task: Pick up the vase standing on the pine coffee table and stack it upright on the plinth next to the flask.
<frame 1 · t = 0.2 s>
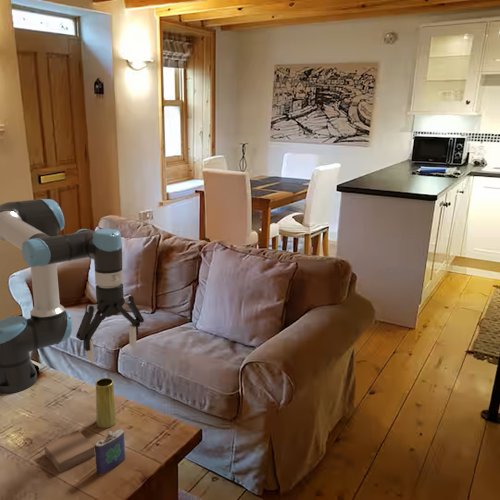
hand: (112, 352, 139), 26 cm above the table, fingers open, 13 cm apart
vase: (106, 422, 150), on the table
plinth: (69, 454, 135), on the table
flask: (111, 466, 131), on the table
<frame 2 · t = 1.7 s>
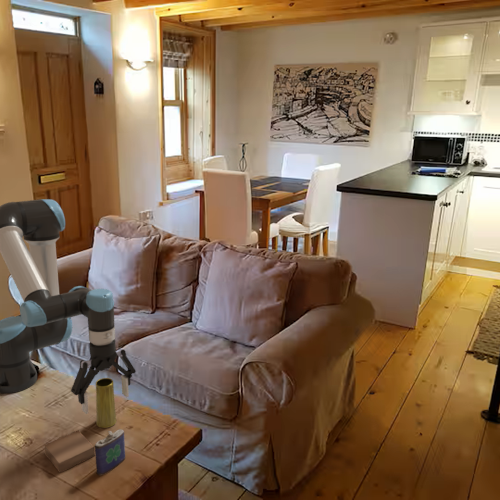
hand: (106, 403, 148), 7 cm above the table, fingers open, 13 cm apart
nothing on the table moved.
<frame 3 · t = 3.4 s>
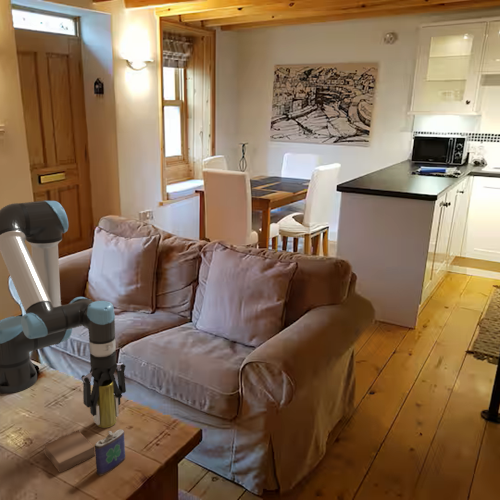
hand: (106, 418, 149), 1 cm above the table, fingers closed on vase, 6 cm apart
vase: (106, 422, 150), on the table, touching gripper
everything else where it was.
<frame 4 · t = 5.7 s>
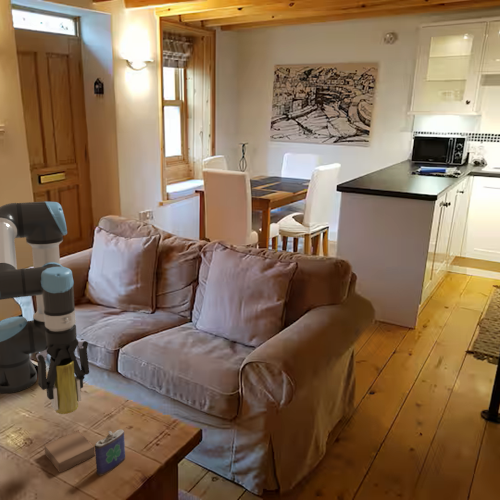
hand: (66, 403, 130), 17 cm above the table, fingers closed on vase, 6 cm apart
vase: (66, 408, 131), point 15 cm above the table, touching gripper
everything else where it was.
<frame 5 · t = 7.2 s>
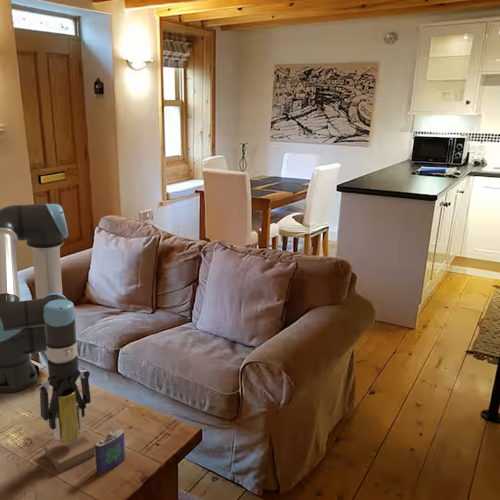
hand: (68, 432, 133), 8 cm above the table, fingers closed on vase, 6 cm apart
vase: (68, 437, 133), point 6 cm above the table, touching gripper
everything else where it was.
when the fingers open (5 cm above the table, at t = 8.4 s): vase stays where it is, resting on plinth.
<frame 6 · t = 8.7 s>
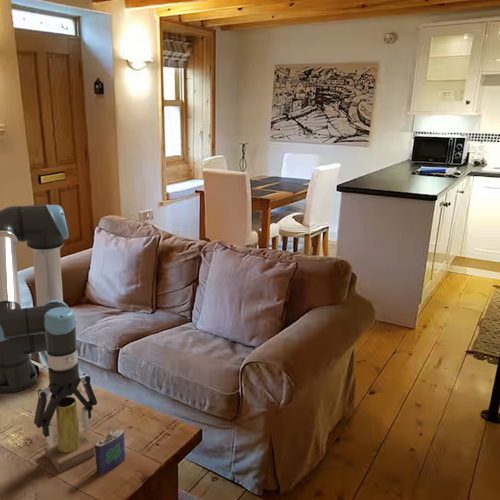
hand: (68, 436, 133), 6 cm above the table, fingers open, 9 cm apart
vase: (69, 446, 134), point 3 cm above the table, touching plinth
everything else where it was.
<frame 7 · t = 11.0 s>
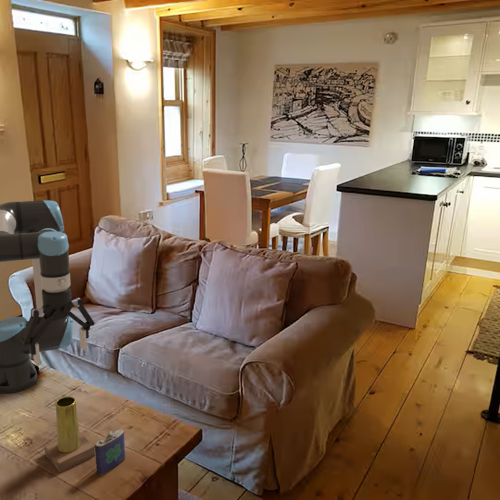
hand: (61, 356, 137), 26 cm above the table, fingers open, 13 cm apart
nothing on the table moved.
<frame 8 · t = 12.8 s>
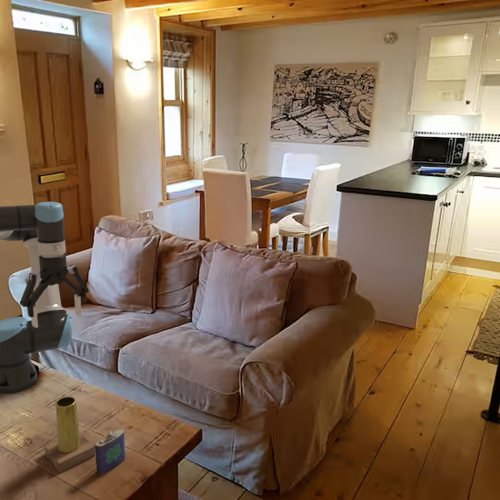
hand: (57, 320, 147), 32 cm above the table, fingers open, 13 cm apart
nothing on the table moved.
at the end: vase inside the target area on the plinth (0.1 cm from its centre), point 2.8 cm above the plinth's base; vase tilted 0°; the gripper is holding nothing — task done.
